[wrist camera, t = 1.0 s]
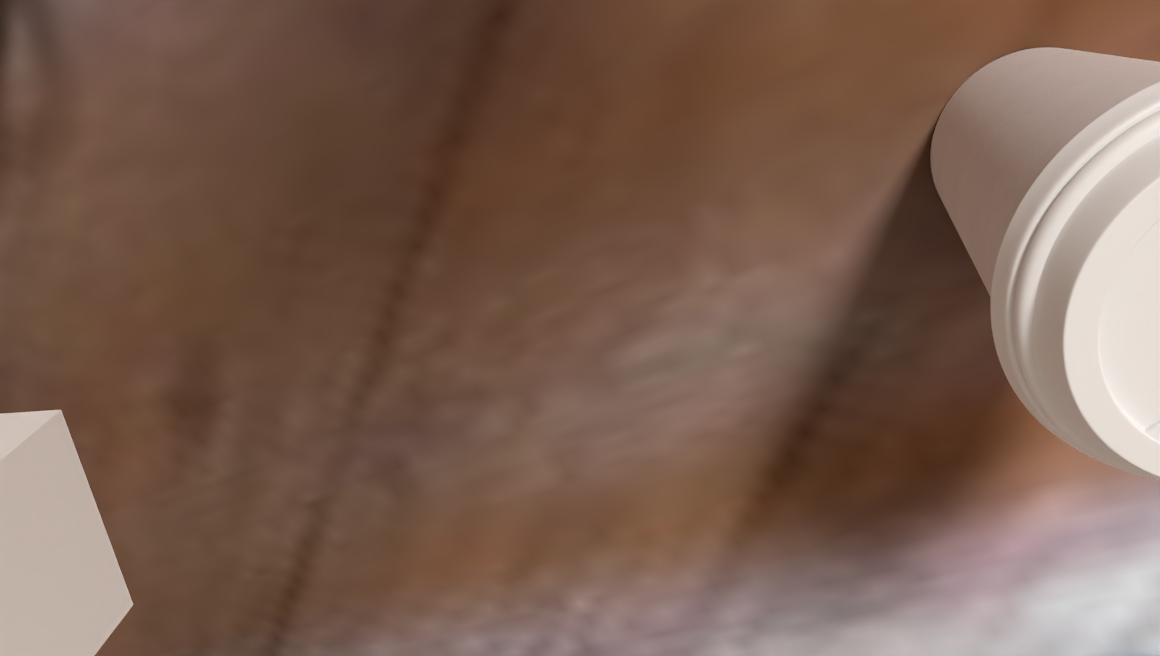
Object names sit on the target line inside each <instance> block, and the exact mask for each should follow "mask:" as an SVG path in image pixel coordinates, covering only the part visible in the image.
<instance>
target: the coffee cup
mask: <svg viewBox="0 0 1160 656" xmlns="http://www.w3.org/2000/svg"><path fill="white" fill-rule="evenodd" d="M930 162H931V172H932V177H933V181H934V184H935V187H936V189H937V192H938V194H939V196H940V198H941V200H942V202H943V204H944V206H945V208H946V210H947V212H948V214H949V216H950V218H951V220H952V222H953V224H954V226H955V228H956V230H957V232H958V234H959V236H960V238H961V240H962V242H963V244H964V246H965V248H966V249H967V251H968V253H969V255H970V257H971V259H972V261H973V263H974V265H975V267H976V269H977V271H978V273H979V275H980V277H981V279H982V281H983V283H984V285H985V287H986V289H987V291H988V293H989V295H990V297H991V325H992V333H993V339H994V343H995V348H996V351H997V355H998V358H999V361H1000V364H1001V366H1002V369H1003V371H1004V373H1005V376H1006V378H1007V379H1008V381H1009V383H1010V385H1011V387H1012V389H1013V390H1014V392H1015V393H1016V395H1017V396H1018V398H1019V399H1020V401H1021V402H1022V403H1023V405H1024V406H1025V407H1026V408H1027V410H1028V411H1029V412H1030V413H1031V414H1032V415H1033V416H1034V417H1035V418H1036V419H1037V420H1038V421H1039V422H1040V423H1041V424H1042V425H1043V426H1044V427H1045V428H1047V429H1048V430H1049V431H1050V432H1052V433H1053V434H1054V435H1056V436H1057V437H1058V438H1060V439H1061V440H1063V441H1064V442H1066V443H1067V444H1069V445H1071V446H1072V447H1074V448H1076V449H1077V450H1079V451H1081V452H1083V453H1084V454H1086V455H1088V456H1090V457H1092V458H1094V459H1096V460H1098V461H1100V462H1102V463H1105V464H1107V465H1110V466H1112V467H1115V468H1118V469H1121V470H1124V471H1127V472H1131V473H1134V474H1137V475H1141V476H1145V477H1149V478H1153V479H1158V480H1160V62H1156V61H1149V60H1141V59H1134V58H1127V57H1120V56H1113V55H1106V54H1099V53H1092V52H1085V51H1078V50H1070V49H1063V48H1050V47H1046V48H1033V49H1026V50H1022V51H1018V52H1014V53H1011V54H1008V55H1006V56H1003V57H1001V58H999V59H997V60H995V61H993V62H991V63H989V64H987V65H986V66H984V67H983V68H981V69H980V70H978V71H977V72H976V73H974V74H973V75H972V76H971V77H970V78H968V79H967V80H966V81H965V82H964V83H963V84H962V85H961V86H960V87H959V88H958V89H957V91H956V92H955V93H954V94H953V96H952V97H951V98H950V100H949V101H948V103H947V104H946V106H945V108H944V109H943V111H942V113H941V115H940V117H939V120H938V122H937V125H936V127H935V131H934V134H933V138H932V144H931V154H930Z"/></svg>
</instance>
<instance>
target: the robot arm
mask: <svg viewBox="0 0 1160 656" xmlns="http://www.w3.org/2000/svg"><path fill="white" fill-rule="evenodd" d="M132 606H133V602H132V600H131V597H130V594H129V591H128V589H127V586H126V583H125V581H124V578H123V575H122V573H121V570H120V567H119V565H118V562H117V559H116V556H115V554H114V551H113V548H112V546H111V543H110V540H109V538H108V535H107V532H106V529H105V527H104V524H103V521H102V519H101V516H100V513H99V511H98V508H97V505H96V503H95V500H94V497H93V494H92V492H91V489H90V486H89V484H88V481H87V478H86V476H85V473H84V470H83V467H82V465H81V462H80V459H79V457H78V454H77V451H76V449H75V446H74V443H73V440H72V438H71V435H70V432H69V430H68V427H67V424H66V422H65V419H64V416H63V414H62V411H61V410H48V411H33V412H18V413H3V414H0V656H95V654H96V653H97V652H98V650H99V649H100V648H101V646H102V645H103V644H104V643H105V641H106V640H107V639H108V637H109V636H110V635H111V633H112V632H113V631H114V629H115V628H116V627H117V626H118V624H119V623H120V622H121V620H122V619H123V618H124V616H125V615H126V614H127V613H128V611H129V610H130V609H131V607H132Z"/></svg>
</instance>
